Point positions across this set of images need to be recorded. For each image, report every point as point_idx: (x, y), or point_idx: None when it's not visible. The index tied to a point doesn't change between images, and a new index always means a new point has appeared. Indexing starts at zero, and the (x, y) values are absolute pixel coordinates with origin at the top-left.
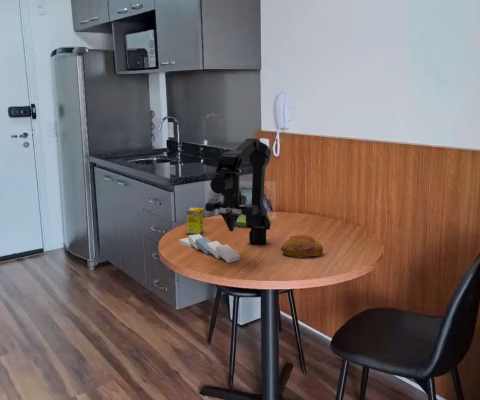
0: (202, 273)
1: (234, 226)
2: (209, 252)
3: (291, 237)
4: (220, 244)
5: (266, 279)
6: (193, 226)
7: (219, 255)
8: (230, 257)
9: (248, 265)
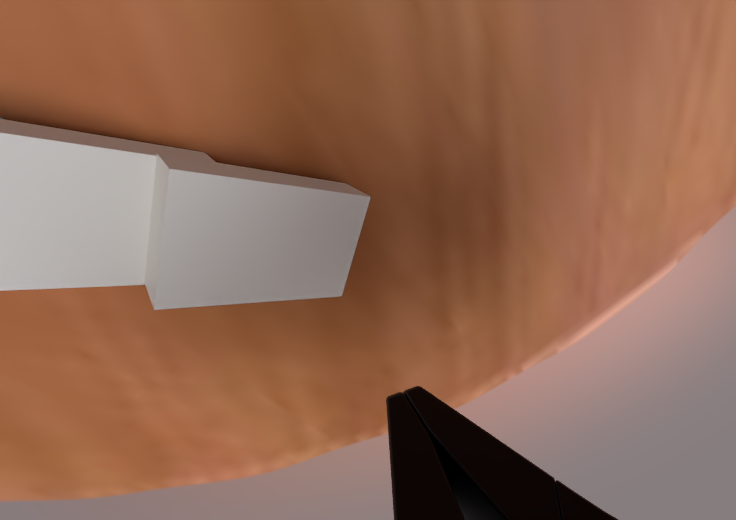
0: (309, 457)
1: (476, 427)
2: None
3: None
4: (35, 146)
5: (591, 311)
6: None
7: None
8: (340, 280)
9: (452, 225)
